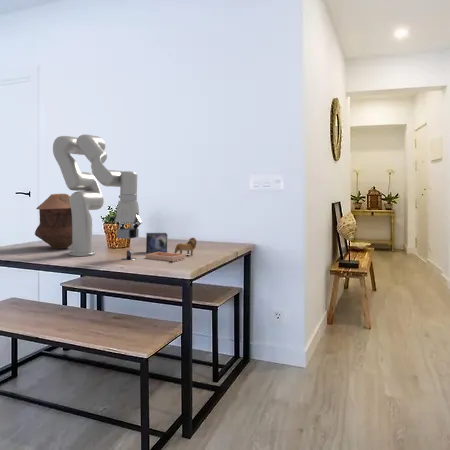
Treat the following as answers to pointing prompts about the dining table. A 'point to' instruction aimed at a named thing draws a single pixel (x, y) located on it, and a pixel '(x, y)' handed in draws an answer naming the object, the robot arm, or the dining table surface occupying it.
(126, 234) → the frame
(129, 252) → the dark knobbed lid
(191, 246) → the lion figurine
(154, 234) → the small box
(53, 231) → the pottery vessel
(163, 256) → the tray
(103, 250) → the dining table surface
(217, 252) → the dining table surface
